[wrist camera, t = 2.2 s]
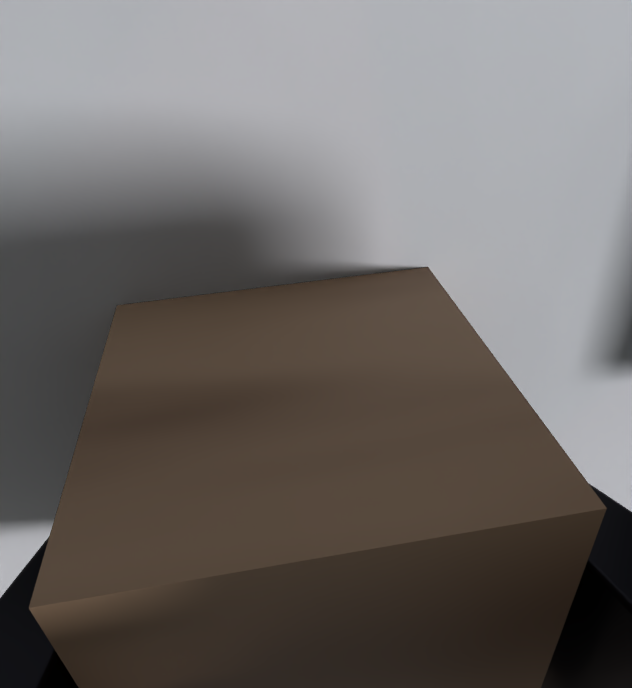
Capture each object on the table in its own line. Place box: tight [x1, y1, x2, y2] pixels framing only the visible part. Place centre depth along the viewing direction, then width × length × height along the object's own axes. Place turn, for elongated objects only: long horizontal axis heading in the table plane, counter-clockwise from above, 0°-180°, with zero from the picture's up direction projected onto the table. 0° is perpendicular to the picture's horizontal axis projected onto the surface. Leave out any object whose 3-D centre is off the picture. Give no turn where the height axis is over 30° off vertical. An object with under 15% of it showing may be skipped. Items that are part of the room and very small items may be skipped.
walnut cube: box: [29, 267, 607, 688], centre depth 8 cm, size 5×5×5 cm
